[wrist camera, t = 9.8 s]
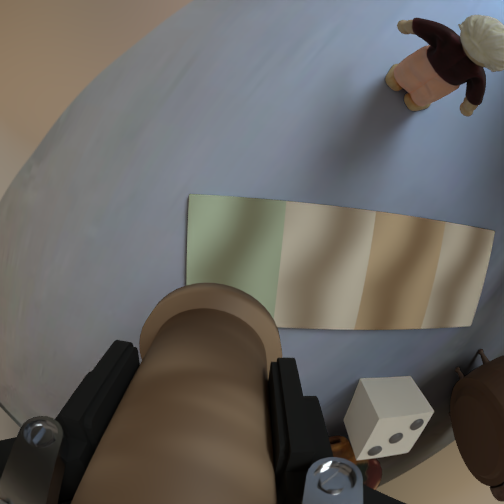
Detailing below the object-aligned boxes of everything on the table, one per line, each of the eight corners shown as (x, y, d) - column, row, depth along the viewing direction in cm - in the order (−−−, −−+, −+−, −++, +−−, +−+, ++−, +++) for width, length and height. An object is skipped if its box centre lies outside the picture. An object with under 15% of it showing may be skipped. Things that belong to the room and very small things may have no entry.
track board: (492, 230, 22) (494, 231, 22) (468, 324, 25) (470, 326, 24) (190, 193, 22) (189, 194, 21) (187, 317, 24) (186, 319, 24)
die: (410, 375, 26) (435, 412, 20) (390, 416, 28) (409, 453, 22) (359, 377, 26) (379, 420, 20) (343, 419, 27) (356, 461, 21)
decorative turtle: (312, 491, 32) (314, 534, 24) (281, 431, 29) (280, 485, 21) (378, 473, 30) (390, 515, 22) (366, 406, 28) (384, 459, 20)
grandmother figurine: (444, 100, 19) (550, 73, 7) (426, 130, 20) (541, 113, 8) (377, 40, 18) (458, -36, 6) (355, 67, 19) (439, -9, 7)
